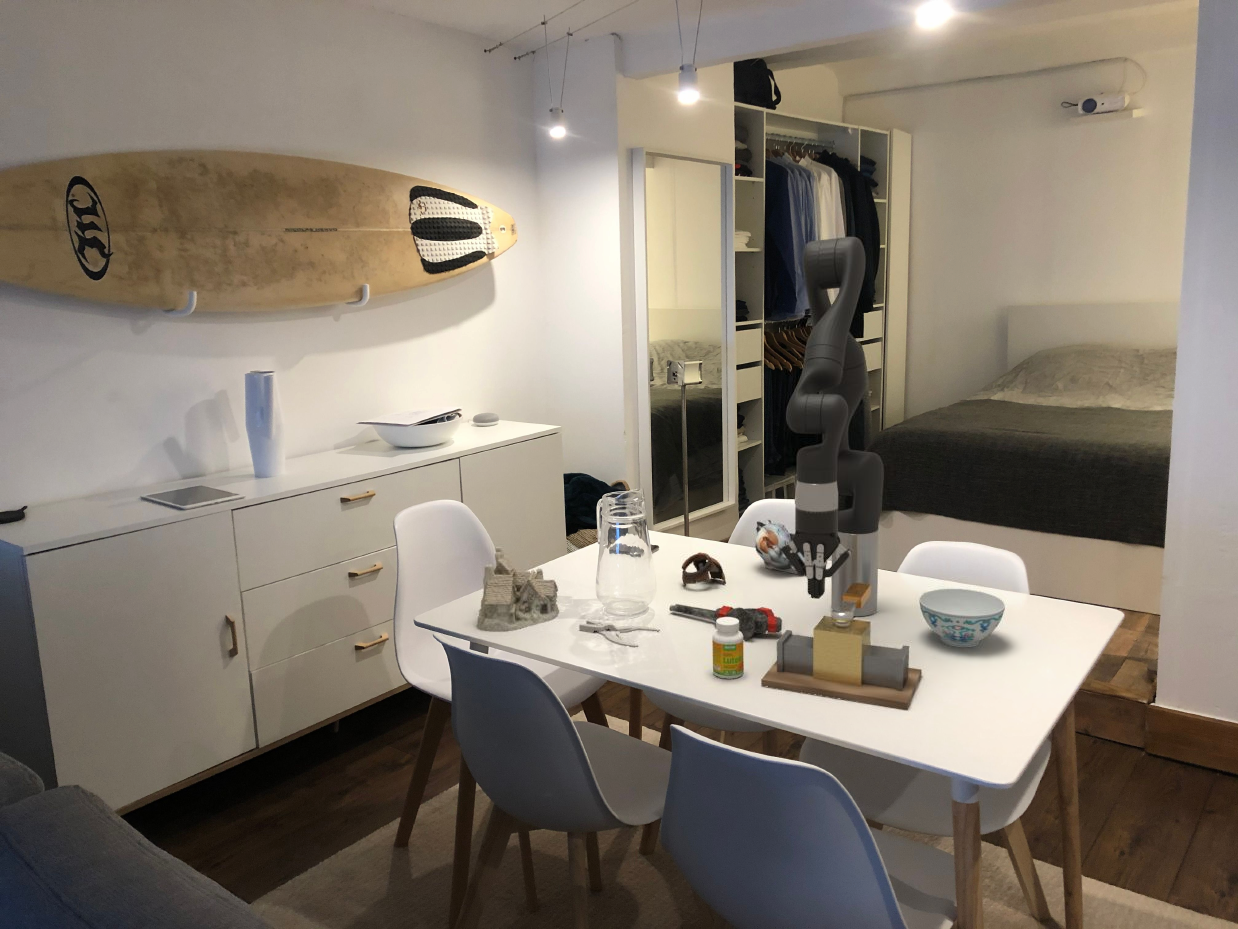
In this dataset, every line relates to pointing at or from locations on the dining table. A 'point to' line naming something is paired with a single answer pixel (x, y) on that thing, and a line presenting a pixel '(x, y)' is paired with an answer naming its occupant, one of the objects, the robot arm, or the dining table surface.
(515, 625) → the ceramic cottage
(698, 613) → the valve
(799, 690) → the walnut board
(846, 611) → the valve lever
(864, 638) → the valve and pipe
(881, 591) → the dining table surface
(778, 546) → the lucky cat figurine
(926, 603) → the chinaware
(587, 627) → the pliers
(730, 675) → the supplement bottle
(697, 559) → the brown openwork dome
